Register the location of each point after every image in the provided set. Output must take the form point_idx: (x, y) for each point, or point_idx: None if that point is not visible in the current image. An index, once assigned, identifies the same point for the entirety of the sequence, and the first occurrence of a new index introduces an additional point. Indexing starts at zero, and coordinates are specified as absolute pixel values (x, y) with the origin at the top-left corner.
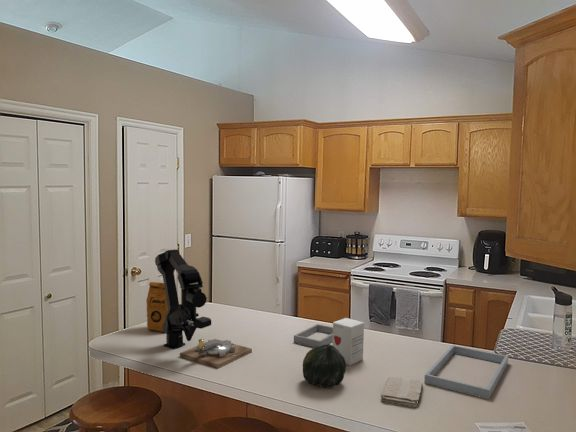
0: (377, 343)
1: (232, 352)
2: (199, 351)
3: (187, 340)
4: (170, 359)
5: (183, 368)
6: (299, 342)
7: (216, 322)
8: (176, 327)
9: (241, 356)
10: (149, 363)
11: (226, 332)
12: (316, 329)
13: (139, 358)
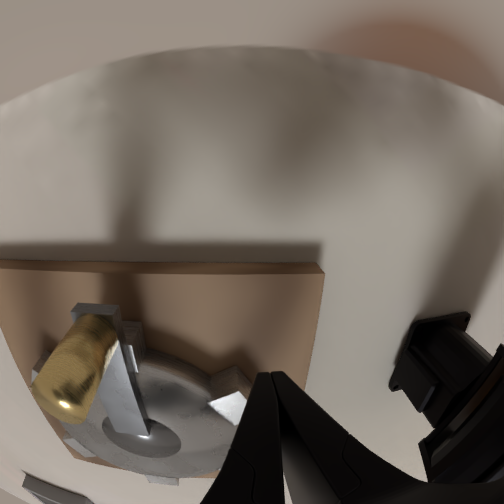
0: (17, 489)
1: None
2: (92, 309)
3: (277, 372)
4: (339, 186)
5: (127, 116)
6: (71, 495)
7: None
8: (477, 419)
9: None
10: (397, 67)
11: None
12: None
13: (475, 116)
